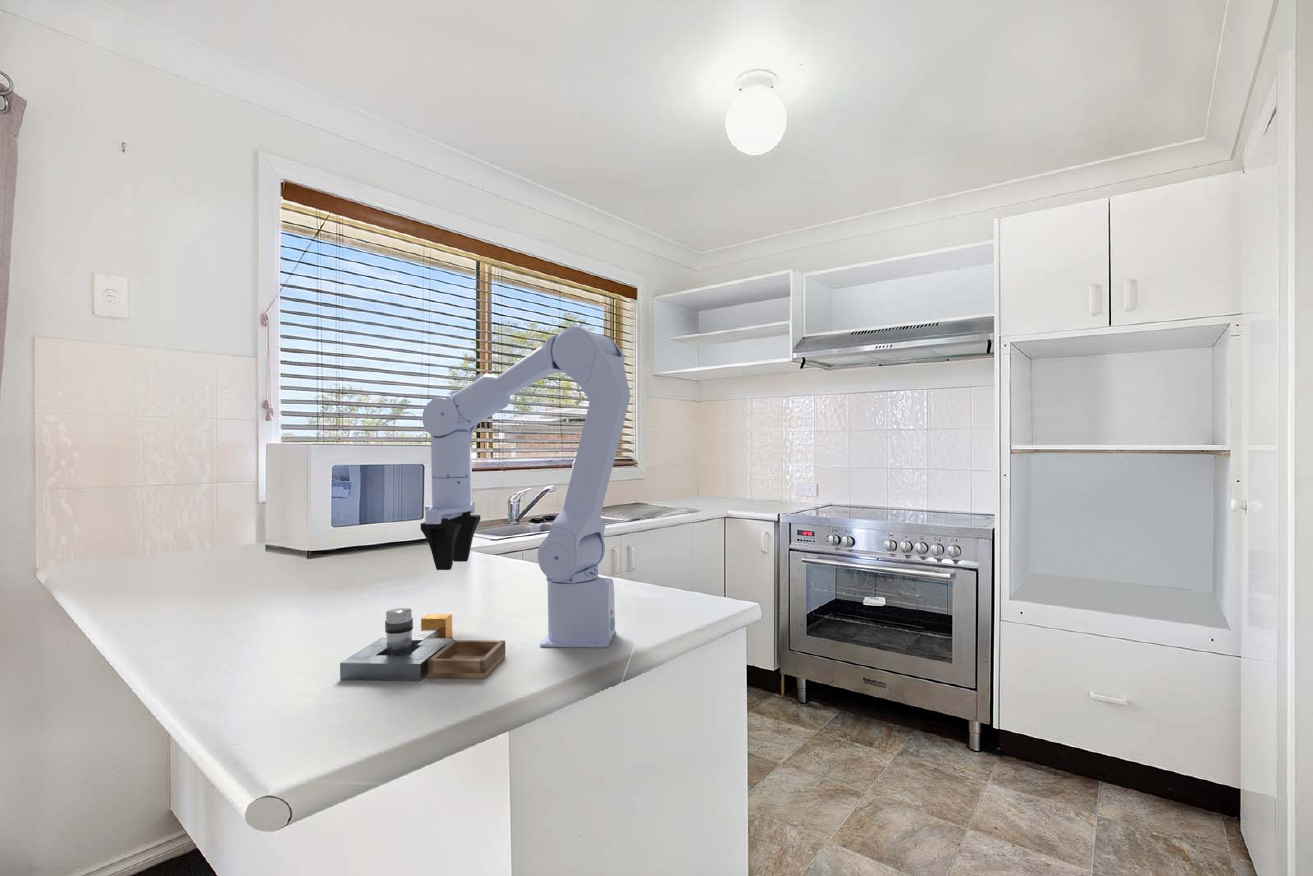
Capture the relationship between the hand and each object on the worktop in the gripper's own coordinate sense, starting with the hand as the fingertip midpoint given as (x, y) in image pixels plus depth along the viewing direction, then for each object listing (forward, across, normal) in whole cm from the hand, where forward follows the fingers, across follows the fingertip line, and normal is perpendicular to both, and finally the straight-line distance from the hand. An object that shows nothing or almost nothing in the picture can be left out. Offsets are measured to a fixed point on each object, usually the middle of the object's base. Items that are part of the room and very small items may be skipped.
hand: (452, 565), depth 102 cm
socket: (+9, +18, 0) cm, 20 cm away
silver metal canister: (+9, +18, 0) cm, 20 cm away
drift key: (+9, +9, 0) cm, 13 cm away
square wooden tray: (+9, +18, +9) cm, 22 cm away
